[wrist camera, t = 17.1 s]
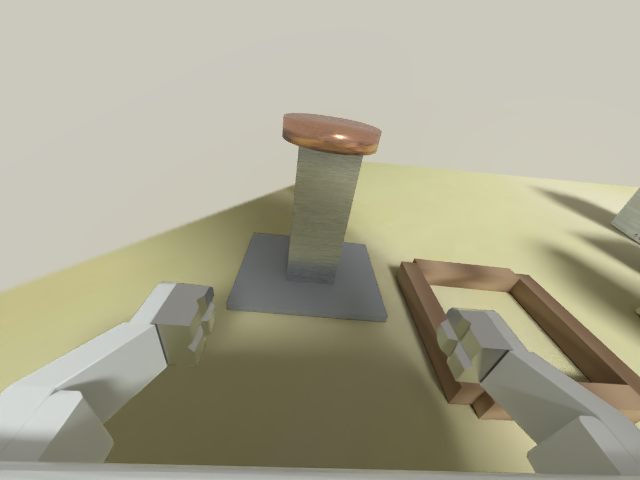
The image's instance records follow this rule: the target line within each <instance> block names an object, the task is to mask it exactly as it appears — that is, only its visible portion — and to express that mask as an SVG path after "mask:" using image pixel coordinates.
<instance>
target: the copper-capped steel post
mask: <svg viewBox="0 0 640 480" xmlns="http://www.w3.org/2000/svg"><path fill="white" fill-rule="evenodd" d="M282 136H283V138H284V139H285V140H286V141H288V142H290V143H292V144H295V145H298V146H299V151H298V162H297V173H296V183H295V194H294V204H293V215H292V225H291V236H290V247H289V257H288V268H287V278H286V281H294V282H305V283H316V284H327V285H334V281H335V276H336V272H337V268H338V263H339V259H340V255H341V250H342V246H343V241H344V237H345V233H346V228H347V224H348V219H349V215H350V211H351V206H352V202H353V197H354V193H355V189H356V184H357V180H358V175H359V171H360V167H361V162H362V158H363V155H371V154H374V153H376V151H377V148H378V143H379V139H380V136H381V131H380V129H377V128H376V127H373V126H370V125H367V124H364V123H360V122H356V121H352V120H347V119H342V118H337V117H330V116H324V115H316V114H303V113H290V114H285V115H284V118H283V135H282Z"/></svg>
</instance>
